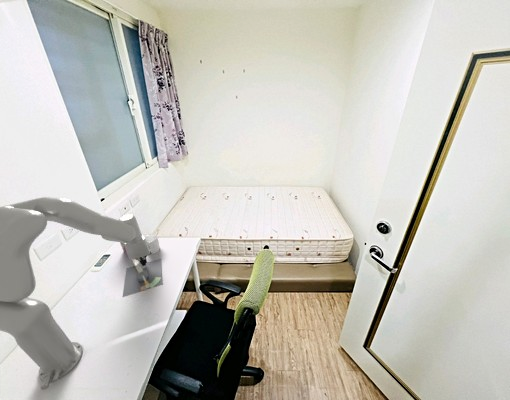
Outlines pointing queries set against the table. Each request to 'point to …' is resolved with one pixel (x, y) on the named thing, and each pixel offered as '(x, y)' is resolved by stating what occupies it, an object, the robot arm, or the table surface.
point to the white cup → (153, 242)
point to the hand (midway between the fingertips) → (144, 264)
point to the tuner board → (154, 280)
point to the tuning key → (140, 272)
